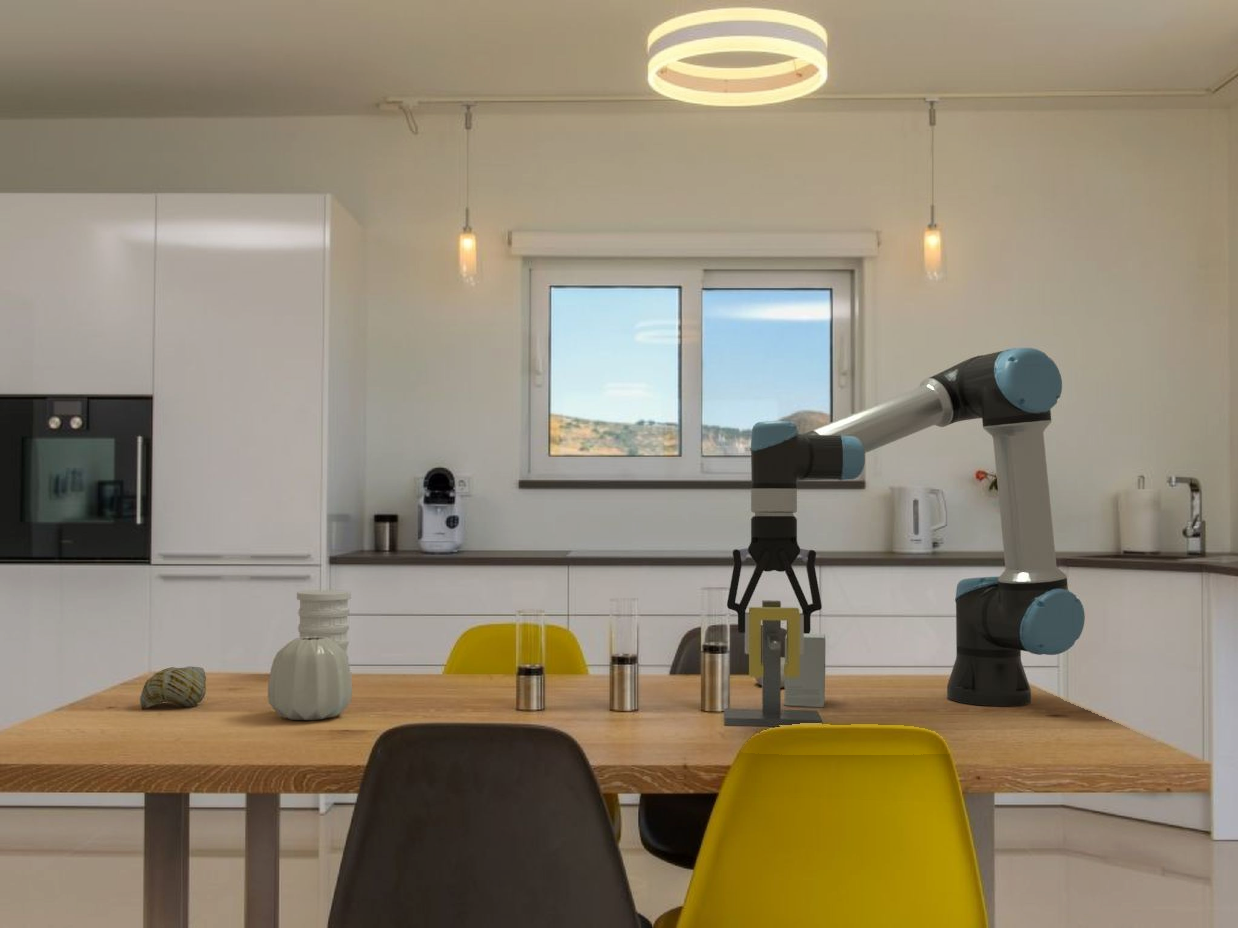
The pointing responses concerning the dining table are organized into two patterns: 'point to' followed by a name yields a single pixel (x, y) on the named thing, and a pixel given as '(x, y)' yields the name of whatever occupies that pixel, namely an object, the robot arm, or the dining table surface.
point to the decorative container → (324, 615)
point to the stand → (770, 686)
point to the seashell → (175, 687)
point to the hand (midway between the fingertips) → (773, 653)
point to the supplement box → (808, 674)
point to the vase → (310, 679)
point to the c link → (792, 638)
